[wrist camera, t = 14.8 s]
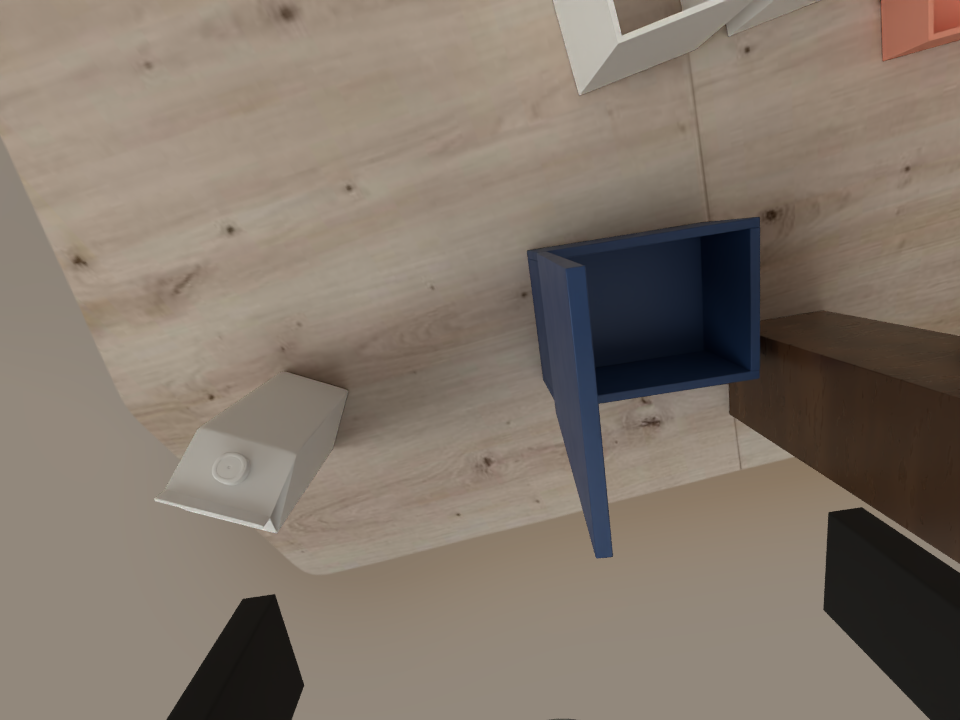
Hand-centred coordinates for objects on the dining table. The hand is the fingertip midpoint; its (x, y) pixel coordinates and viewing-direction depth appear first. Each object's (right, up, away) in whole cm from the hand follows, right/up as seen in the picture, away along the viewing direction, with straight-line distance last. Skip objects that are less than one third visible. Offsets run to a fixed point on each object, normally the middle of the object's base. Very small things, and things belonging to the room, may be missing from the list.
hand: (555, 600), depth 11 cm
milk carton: (-20, 0, +38) cm, 43 cm away
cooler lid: (+4, +5, +18) cm, 19 cm away
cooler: (+13, +11, +35) cm, 39 cm away
